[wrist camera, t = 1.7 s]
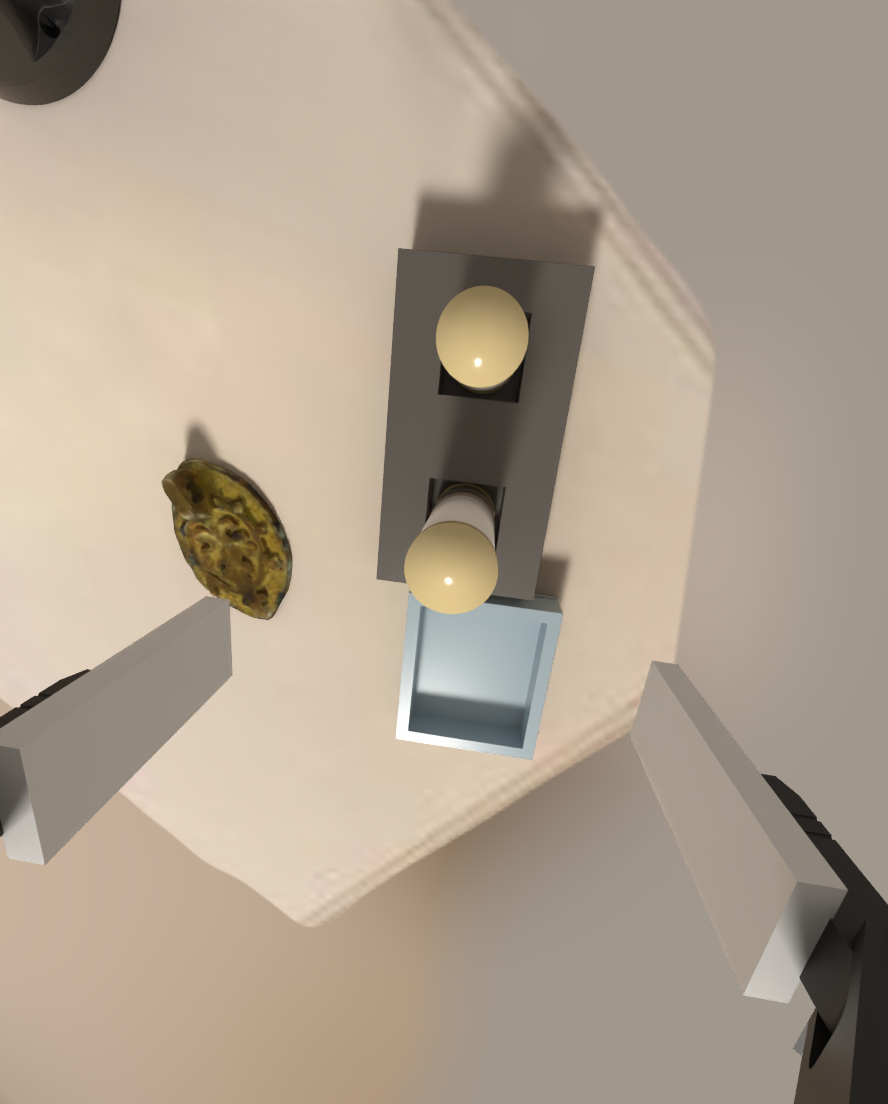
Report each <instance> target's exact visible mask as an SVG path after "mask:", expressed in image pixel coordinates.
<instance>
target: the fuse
mask: <svg viewBox="0 0 888 1104" xmlns="http://www.w3.org/2000/svg"><path fill="white" fill-rule="evenodd" d="M528 337H529V332H528V323H527V320H526V316H525V314H524V312H523V310H522V308H521V306H520V305H519V303H518V302H517V301H516V300H515V299H514V298H513V297H512V296H511V295H510V294H508V293H507V292H505V291H503V290H501V289H499V288H496V287H492V286H476V287H472V288H469V289H467V290H464V291H462V292H461V293H459V294H458V295H456V296H455V297H454V298H453V299H452V300H451V301H450V302H449V303H448V304H447V306H446V307H445V309H444V310H443V312H442V314H441V316H440V319H439V322H438V325H437V331H436V347H437V351H438V355H439V358H440V360H441V362H442V364H443V366H444V367H445V369H446V370H447V371H448V372H449V374H450V375H451V376H452V377H454V378H455V379H456V380H457V381H458V382H459V383H460V384H461V385H462V386H463V387H464V388H465V389H467V390H468V391H470V392H473V393H476V394H490V393H493V392H496V391H498V390H500V389H501V388H502V387H504V386H505V385H506V384H507V383H508V381H509V380H510V379H511V377H512V375H513V373H514V372H515V371H516V369H517V368H518V366H519V365H520V363H521V362H522V360H523V358H524V356H525V353H526V350H527V345H528Z"/></svg>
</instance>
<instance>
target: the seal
mask: <svg viewBox="0 0 888 1104" xmlns="http://www.w3.org/2000/svg"><path fill="white" fill-rule="evenodd" d="M162 485H163V488H164V491H165V493H166V495H167V496H168V497H169V499H170V500H171V502H172V513H173V521H174V530H175V534H176V537H177V540H178V542H179V545H180V548H181V550H182V553H183V555H184V558H185V560H186V562H187V563H188V564H189V566H190V567H191V568H192V570H193V572H194V574H195V576H196V578H197V579H198V580H199V582H200V583H201V584H202V585H203V586H204V587H205V588H206V589H207V590H209V591H210V593H211V595H212V596H216V597H217V598H221V599H228V600H229V603H230V606H231V607H233V608H235V609H237V610H239V611H241V612H242V613H244V614H246V615H248V616H251V617H254V618H258V619H265V620H269V619H271V618H272V617H273V616H274V614H275V613H276V611H277V609H278V607H279V605H280V603H281V601H282V600H283V598H284V596H285V595H286V593H287V591H288V589H289V585H290V581H291V574H292V557H291V553H290V549H289V546H288V543H287V541H286V538H285V535H284V532H283V530H282V528H281V525H280V523H279V522H278V520H277V518H276V516H275V515H274V514H273V513H272V511H271V510H270V508H269V507H268V505H267V504H266V502H265V501H264V500H263V498H262V497H261V496H260V495H259V494H258V493H257V492H256V491H255V490H254V489H253V488H252V487H251V485H250V484H248V483H247V482H246V481H245V480H243V479H242V478H240V477H239V476H237V475H236V474H234V473H232V472H230V471H228V470H227V469H224V468H222V467H220V466H218V465H215V464H212V463H209V462H206V461H201V460H197V459H191V460H186V461H184V462H182V463H181V464H180V465H179V467H178V469H177V470H173V471H172V472H170V473H168V474H167V475H166V476H165V477H164V479H163V480H162Z"/></svg>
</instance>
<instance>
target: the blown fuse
mask: <svg viewBox="0 0 888 1104" xmlns="http://www.w3.org/2000/svg"><path fill="white" fill-rule="evenodd" d="M494 515H495V512H494V503H493V500H492V498H491V496H490V495H489V493H488V492H487V491H486V490H485V489H484V488H483V487H481V486H480V485H478V484H475V483H467V482H458V483H455V484H452V485H450V486H449V487H447V488H446V489H445V490H444V491H443V492H442V493H441V495H440V496H439V498H438V500H437V502H436V505H435V506H434V508H433V510H432V512H431V514H430V516H429V519H428V520H427V522H426V524H425V526H424V527H423V529H422V531H421V533H420V534H419V535H418V536H417V537H416V538H415V540H414V541H413V543H412V545H411V546H410V548H409V550H408V552H407V555H406V558H405V564H404V573H405V579H406V582H407V585H408V587H409V589H410V591H411V593H412V594H413V595H414V597H415V598H416V599H417V600H418V601H419V602H420V603H422V604H423V605H424V606H426V607H428V608H429V609H431V610H434V611H436V612H439V613H444V614H461V613H465V612H469V611H471V610H473V609H475V608H477V607H479V606H480V605H481V604H483V603H484V602H485V601H486V600H487V599H488V598H489V596H490V595H491V594H492V592H493V590H494V588H495V585H496V583H497V578H498V561H497V555H496V551H495V539H494V531H495V524H494Z"/></svg>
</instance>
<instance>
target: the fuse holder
mask: <svg viewBox="0 0 888 1104" xmlns="http://www.w3.org/2000/svg"><path fill="white" fill-rule="evenodd" d="M594 269H595V267H594V266H583V265H572V264H562V263H551V262H540V261H530V260H519V259H508V258H497V257H487V256H476V255H465V254H455V253H444V252H433V251H423V250H412V249H401V248H398V264H397V279H396V294H395V309H394V324H393V339H392V355H391V370H390V385H389V400H388V415H387V430H386V445H385V461H384V476H383V491H382V506H381V521H380V536H379V551H378V567H377V579H379V580H387V581H394V582H401V583H407V582H406V579H405V573H404V564H405V558H406V555H407V552H408V550H409V548H410V546H411V545H412V543H413V541H414V540H415V538H416V537H417V536H418V535H419V534H420V533H421V531H422V529H423V527H424V526H425V524H426V522H427V520H428V519H429V516H430V514H431V512H432V510H433V508H434V506H435V505H436V502H437V500H438V498H439V496H440V495H441V493H442V492H443V491H444V490H445V489H446V488H447V487H449V486H450V485H452V484H455V483H458V482H467V483H475V484H478V485H480V486H481V487H483V488H484V489H485V490H486V491H487V492H488V493H489V495H490V496H491V498H492V500H493V503H494V512H495V515H494V524H495V531H494V539H495V551H496V555H497V561H498V578H497V583H496V585H495V588H494V590H493V592H492V594H491V595H496V596H503V597H511V598H518V599H525V600H533V599H534V594H535V589H536V583H537V578H538V572H539V567H540V561H541V556H542V551H543V545H544V540H545V534H546V529H547V524H548V518H549V513H550V507H551V502H552V496H553V491H554V486H555V480H556V475H557V469H558V464H559V459H560V453H561V448H562V442H563V437H564V432H565V426H566V421H567V415H568V410H569V404H570V399H571V394H572V388H573V383H574V377H575V372H576V367H577V361H578V356H579V350H580V345H581V339H582V334H583V329H584V323H585V318H586V312H587V307H588V302H589V296H590V291H591V285H592V280H593V274H594ZM476 286H492V287H496V288H499V289H501V290H503V291H505V292H507V293H508V294H510V295H511V296H512V297H513V298H514V299H515V300H516V301H517V302H518V303H519V305H520V306H521V308H522V310H523V312H524V314H525V316H526V320H527V323H528V332H529V337H528V345H527V350H526V353H525V356H524V358H523V360H522V362H521V363H520V365H519V366H518V368H517V369H516V371H515V372H514V373H513V375H512V377H511V379H510V380H509V381H508V383H507V384H506V385H505V386H504V387H502V388H501V389H500V390H498V391H496V392H493V393H490V394H476V393H473V392H470V391H468V390H467V389H465V388H464V387H463V386H462V385H461V384H460V383H459V382H458V381H457V380H456V379H455V378H454V377H452V376H451V375H450V374H449V372H448V371H447V370H446V369H445V367H444V366H443V364H442V362H441V360H440V358H439V355H438V351H437V347H436V331H437V325H438V322H439V319H440V316H441V314H442V312H443V310H444V309H445V307H446V306H447V304H448V303H449V302H450V301H451V300H452V299H453V298H454V297H455V296H456V295H458V294H459V293H461V292H462V291H464V290H467V289H469V288H472V287H476Z"/></svg>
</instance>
